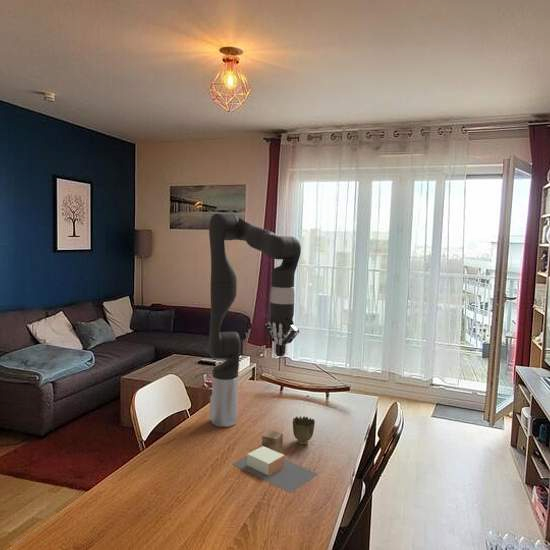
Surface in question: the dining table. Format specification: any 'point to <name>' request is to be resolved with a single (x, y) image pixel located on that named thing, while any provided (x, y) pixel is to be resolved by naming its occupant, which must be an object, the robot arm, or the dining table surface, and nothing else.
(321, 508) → the dining table surface
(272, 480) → the mat
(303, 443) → the filigree lamp shade
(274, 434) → the walnut cube
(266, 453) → the cream block
